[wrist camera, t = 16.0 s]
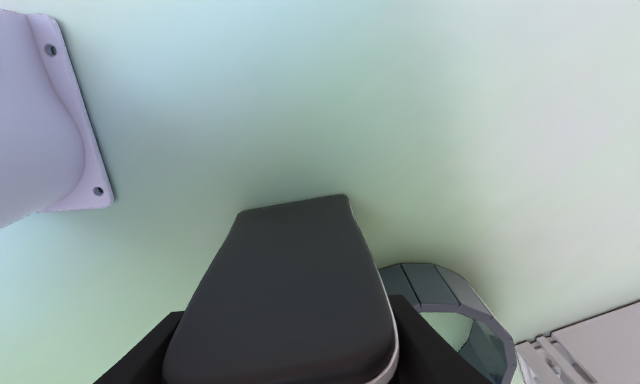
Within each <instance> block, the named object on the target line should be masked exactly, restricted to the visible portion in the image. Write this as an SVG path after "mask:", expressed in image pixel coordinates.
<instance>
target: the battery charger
mask: <svg viewBox="0 0 640 384" xmlns="http://www.w3.org/2000/svg"><path fill="white" fill-rule="evenodd" d="M399 351H400V350H399V340H398V332H397V327H396V322H395V319H394V315H393V312H392V309H391V306H390V303H389V300H388V297H387V294H386V291H385V288H384V285H383V282H382V280H381V277H380V274H379V272H378V269H377V267H376V264H375V262H374V260H373V258H372V255H371V253H370V251H369V248H368V246H367V244H366V242H365V240H364V237H363V235H362V233H361V231H360V229H359V227H358V225H357V223H356V220H355V218H354V214H353V211H352V207H351V204H350V203H349V199H348V197H347V196H346V195H335V196H329V197H323V198H317V199H311V200H305V201H299V202H293V203H287V204H282V205H276V206H270V207H265V208H259V209H254V210H249V211H243V212H240V213H239V214H238V215H237V217H236V220H235V222H234V224H233V226H232V228H231V230H230V232H229V234H228V236H227V238H226V240H225V241H224V243H223V245H222V246H221V248H220V249H219V251H218V253H217V254H216V256H215V258H214V259H213V261H212V263H211V264H210V266H209V268H208V270H207V271H206V273H205V275H204V276H203V278H202V280H201V282H200V284H199V285H198V287H197V289H196V291H195V293H194V295H193V296H192V298H191V300H190V302H189V304H188V306H187V308H186V310H185V312H184V314H183V316H182V318H181V320H180V322H179V324H178V327H177V329H176V331H175V333H174V335H173V337H172V339H171V341H170V343H169V346H168V349H167V352H166V355H165V357H164V360H163V364H162V383H163V384H400V381H399V371H398V361H399Z"/></svg>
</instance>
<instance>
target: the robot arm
mask: <svg viewBox="0 0 640 384" xmlns="http://www.w3.org/2000/svg"><path fill="white" fill-rule="evenodd" d="M52 46H54V47H55V49H56V55H55V56H54V55H53V54H52V52H51V47H52ZM98 187H100V188H101V189H102V190H103V193H101V192H99V190H98ZM113 203H114V195H113V192H112V189H111V186H110V183H109V180H108V177H107V173H106V170H105V167H104V164H103V161H102V158H101V155H100V152H99V149H98V146H97V142H96V139H95V136H94V133H93V130H92V127H91V124H90V121H89V118H88V114H87V111H86V108H85V105H84V102H83V99H82V96H81V93H80V90H79V87H78V83H77V80H76V77H75V74H74V71H73V68H72V65H71V62H70V59H69V56H68V52H67V49H66V46H65V43H64V40H63V37H62V34H61V31H60V28H59V25H58V23H57V22H56V21H55V20H54V19H53V18H52V17H50V16H48V15H44V14H20V13H16V12H12V11H7V10H3V9H0V229H2V228H4V227H6V226H8V225H10V224H12V223H14V222H16V221H18V220H20V219H22V218H24V217H26V216H29V215H31V214H33V213H37V212H52V211H66V210H81V209H95V208H106V207H109V206H110V205H112V204H113ZM387 297H388V300H389V303H390V306H391V309H392V312H393V315H394V319H395V322H396V327H397V332H398V340H399V350H400V351H399V361H398V371H399V381H400V384H494V383H492V382H491V381H490V380H489V379H488V378H486V377H485V376H484V375H483V374H481V373H480V372H479V371H478V370H477V369H476V368H474V367H473V366H472V365H471V364H470V363H469V362H468V361H466V360H465V359H464V358H463V357H462V356H461V355H460V354H459V353H458V352H457V351H456V350H454V349H453V348H452V347H451V346H450V345H449V344H448V343H447V342H446V341H445V340H444V339H443V338H442V337H441V336H440V335H439V334H438V333H437V332H436V331H435V330H434V329H433V328H432V327H431V326H430V325H429V324H428V323H427V321H426V320H425V319H424V318H423V317H422V316H421V315H420V314H419V313H418V312H417V310H416V309H415V308H414V307H413V306H412V305H411V304H410V303H409V301H408V300H407V299H406V298H405V297H404V296H403V295H402V294H399V295H387ZM184 312H185V311H178V312H171V313H170V314H169V315H167V316H166V317H165V318H164V319H163V320H162V321H161V322H160V323H159V324H158V325H157V326H156V327H155V328H154V329H152V330H151V331H150V332H149V333H148V334H147V335H146V336H145V337H144V338H143V339H142V340H141V341H140V342H139V343H138V344H137V345H136V346H134V347H133V348H132V349H131V350H130V351H129V352H128V353H127V354H126V355H125V356H124V357H123V358H122V359H121V360H119V361H118V362H117V363H116V364H115V365H114V366H113V367H111V368H110V369H109V370H108V371H107V372H106V373H105V374H103V375H102V376H101V377H100V378H99V379H98V380H97V381H95V382H94V383H93V384H163V383H162V364H163V360H164V357H165V355H166V352H167V349H168V346H169V343H170V341H171V339H172V337H173V335H174V333H175V331H176V329H177V327H178V324H179V322H180V320H181V318H182V316H183V314H184Z"/></svg>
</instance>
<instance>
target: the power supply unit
mask: <svg viewBox="0 0 640 384" xmlns="http://www.w3.org/2000/svg"><path fill="white" fill-rule="evenodd" d="M514 347H515V350H516V354H517V357H518V360H519V364H520V367H521V370H522V373H523V377H524V380H525V383H526V384H640V302H638V303H635V304H632V305H629V306H626V307H623V308H621V309H618V310H615V311H612V312H609V313H606V314H603V315H601V316H598V317H595V318H592V319H589V320H586V321H583V322H581V323H578V324H575V325H572V326H569V327H566V328H563V329H561V330H558V331H555V332H552V333H551V337H547V338H545V337H544V336H542V337H539V338H536V342H534V343H531V344H530V343H529V342H525V343H522V344H519V345H516V346H514Z"/></svg>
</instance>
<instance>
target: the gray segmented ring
mask: <svg viewBox="0 0 640 384" xmlns="http://www.w3.org/2000/svg"><path fill="white" fill-rule="evenodd" d="M378 272H379V274H380V277H381V280H382V282H383V285H384V288H385V291H386V294H387V295H399V294H402V295H403V296H404V297H405V298H406V299H407V300H408V301H409V303H410V304H411V305H412V306H413V307H414V308H415V309H416V310H417V312H418V313H420V312H457V313H459V314H462V315H465V316H467V317H470V318H472V319H474V322H473V326H472V329H471V333H470V336H469V340H468V341H467V342H466V344H465V345H464V346H463V347H462V349H461V350H460V351H459V352H458V353H459V354H460V355H461V356H462V357H463V358H464V359H465V360H466V361H468V362H469V363H470V364H471V365H472V366H473V367H474V368H476V369H477V370H478V371H479V372H480V373H481V374H483V375H484V376H485V377H486V378H488V379H489V380H490V381H491V382H492V383H494V384H510V383H511V380H512V377H513V375H514V372H515V369H516V367H517V365H516V364H517V361H516V355H515V349H514V343H513V339H512V336H511V335H510V334H509V333H508V331H507V330H506V329H505V328H504V326H503V325H502V324H501V323H500V321H499V320H498V319H497V318H496V316H495V315H494V314H493V313H492V311H491V310H490V309H489V307H488V306H487V305H486V304H485V302H484V301H483V300H482V299H481V297H480V296H479V295H478V294H477V293H476V291H475V290H474V289H473V288H472V287H471V286H470V285H469V284H468V282H467V281H466V280H465V279H464V278H463V277H462V276H460V275H459V274H457V273H454V272H452V271H449V270H447V269H444V268H442V267H440V266H437V265H435V264H434V265H433V264H412V263H401V265H400V264H396V265H393V266H390V267H387V268H384V269H381V270H378Z"/></svg>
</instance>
